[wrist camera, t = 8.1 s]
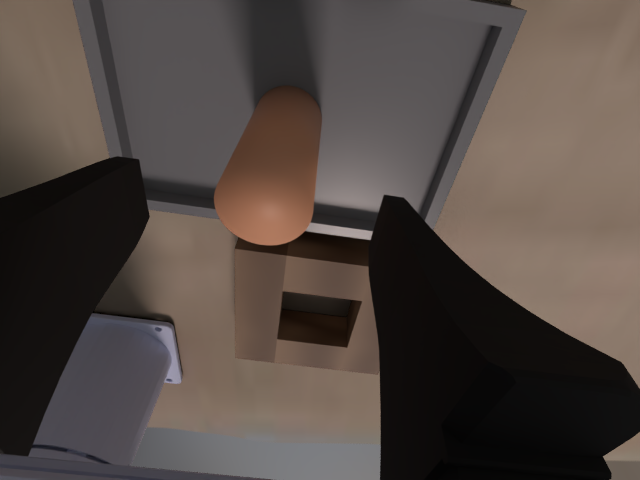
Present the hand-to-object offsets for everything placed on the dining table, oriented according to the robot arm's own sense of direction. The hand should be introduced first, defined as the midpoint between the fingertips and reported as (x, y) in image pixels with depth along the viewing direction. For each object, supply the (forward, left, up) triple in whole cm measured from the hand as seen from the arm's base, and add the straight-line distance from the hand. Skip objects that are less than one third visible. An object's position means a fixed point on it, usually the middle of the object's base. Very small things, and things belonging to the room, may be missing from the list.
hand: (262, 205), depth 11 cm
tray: (0, 0, -8) cm, 8 cm away
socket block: (+3, -11, -8) cm, 14 cm away
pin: (0, 0, -7) cm, 7 cm away
